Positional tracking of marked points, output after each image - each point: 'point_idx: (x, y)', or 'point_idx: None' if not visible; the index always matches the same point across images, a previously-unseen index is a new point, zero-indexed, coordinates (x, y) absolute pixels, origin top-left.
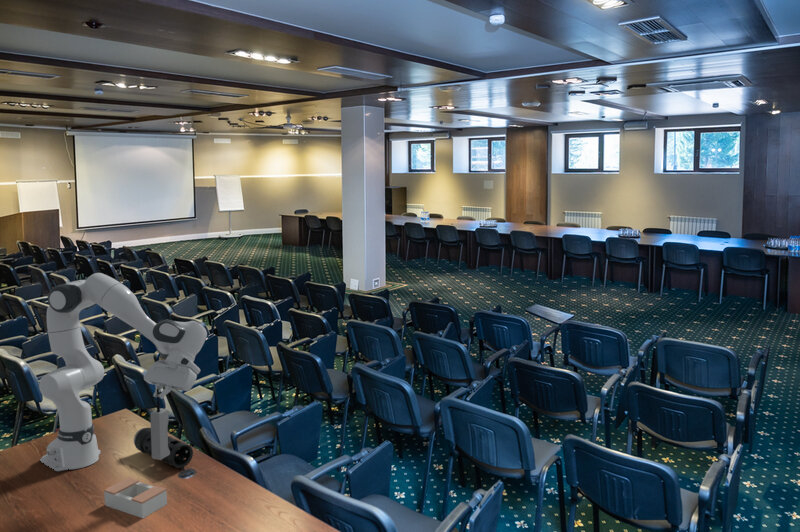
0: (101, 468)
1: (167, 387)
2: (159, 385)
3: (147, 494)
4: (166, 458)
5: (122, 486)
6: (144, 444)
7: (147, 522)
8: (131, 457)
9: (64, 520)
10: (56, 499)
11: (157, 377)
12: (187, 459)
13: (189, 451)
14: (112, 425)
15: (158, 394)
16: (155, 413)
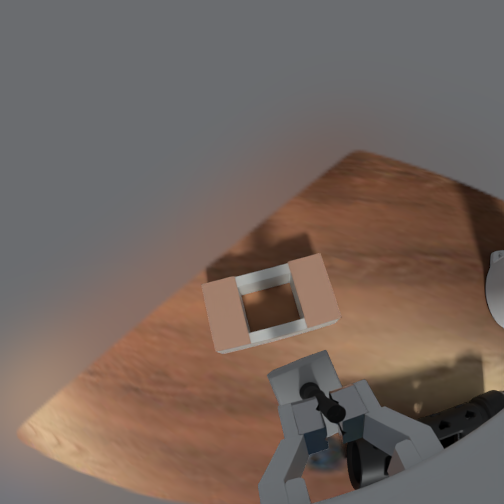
0: (468, 318)
1: (261, 491)
2: (398, 457)
3: (224, 308)
4: None
5: (306, 287)
6: (468, 404)
7: (190, 293)
8: (475, 382)
9: (312, 200)
10: (397, 217)
11: (491, 468)
12: (355, 471)
13: (359, 482)
14: None
15: (313, 406)
16: (296, 367)
